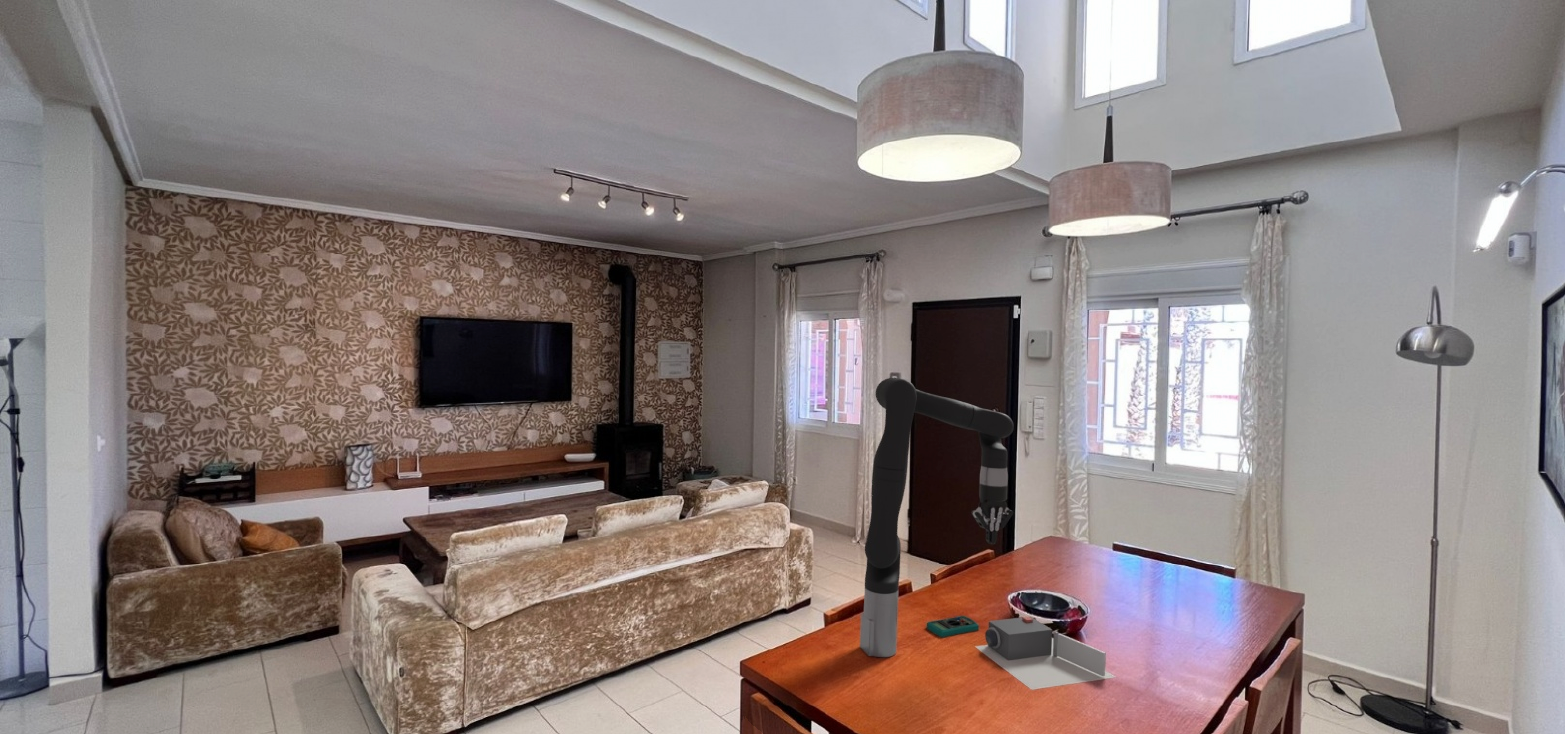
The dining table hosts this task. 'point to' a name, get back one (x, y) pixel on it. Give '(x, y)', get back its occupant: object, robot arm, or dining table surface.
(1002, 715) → the dining table surface
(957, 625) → the digital multimeter
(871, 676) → the dining table surface
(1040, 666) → the mat
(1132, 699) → the dining table surface
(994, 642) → the camera body
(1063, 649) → the side door
